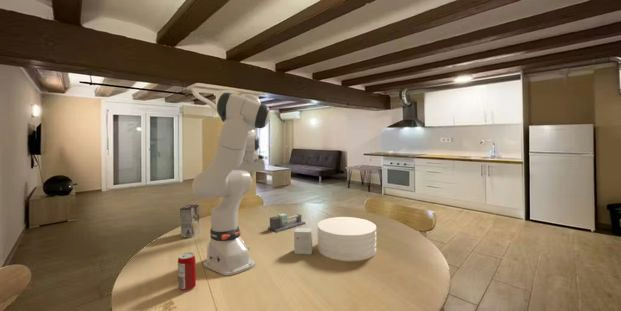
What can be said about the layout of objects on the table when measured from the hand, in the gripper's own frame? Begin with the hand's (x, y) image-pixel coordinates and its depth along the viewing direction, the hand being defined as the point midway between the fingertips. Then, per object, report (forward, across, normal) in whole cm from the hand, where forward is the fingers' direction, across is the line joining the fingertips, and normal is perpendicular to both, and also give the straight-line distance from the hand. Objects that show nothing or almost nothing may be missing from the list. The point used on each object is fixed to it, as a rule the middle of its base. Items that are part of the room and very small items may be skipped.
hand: (249, 179), depth 156 cm
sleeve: (+27, +14, -13) cm, 33 cm away
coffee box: (+29, -30, +13) cm, 44 cm away
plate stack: (+30, +18, -59) cm, 68 cm away
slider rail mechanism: (+29, +18, -13) cm, 37 cm away
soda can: (+29, -50, -42) cm, 72 cm away
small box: (+29, 0, -48) cm, 56 cm away
